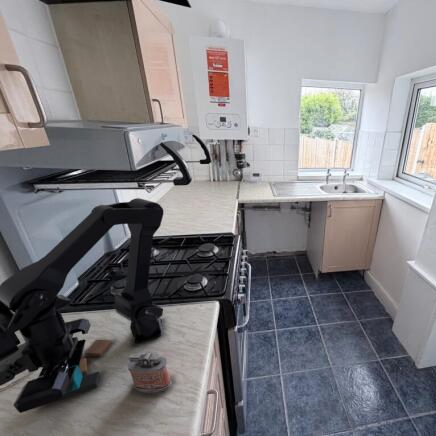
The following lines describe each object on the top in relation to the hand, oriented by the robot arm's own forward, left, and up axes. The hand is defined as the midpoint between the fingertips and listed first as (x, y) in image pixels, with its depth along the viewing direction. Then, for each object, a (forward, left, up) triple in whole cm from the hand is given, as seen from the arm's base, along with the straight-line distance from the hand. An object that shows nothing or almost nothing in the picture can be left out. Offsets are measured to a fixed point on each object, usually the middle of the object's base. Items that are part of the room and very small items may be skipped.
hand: (71, 383), depth 52 cm
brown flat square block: (-2, -10, -2) cm, 10 cm away
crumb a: (+1, -5, -2) cm, 5 cm away
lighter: (-16, +6, -2) cm, 17 cm away
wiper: (0, 0, -2) cm, 2 cm away
